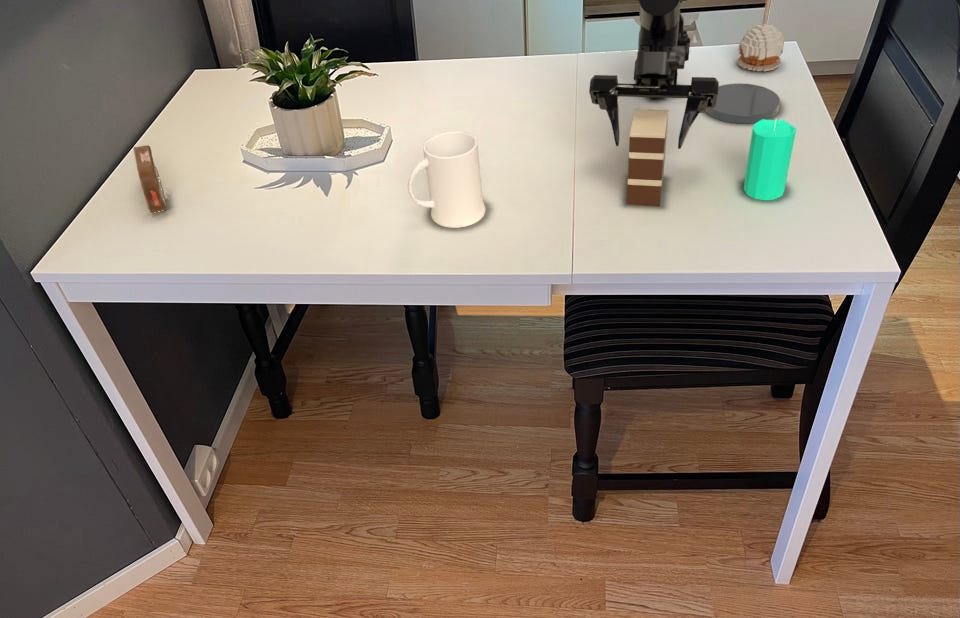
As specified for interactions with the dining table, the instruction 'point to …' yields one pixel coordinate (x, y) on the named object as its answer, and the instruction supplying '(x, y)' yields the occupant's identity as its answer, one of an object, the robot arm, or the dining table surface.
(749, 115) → the plate
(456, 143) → the mug
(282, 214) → the dining table surface
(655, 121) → the cake slice
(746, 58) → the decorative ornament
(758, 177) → the candle
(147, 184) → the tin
